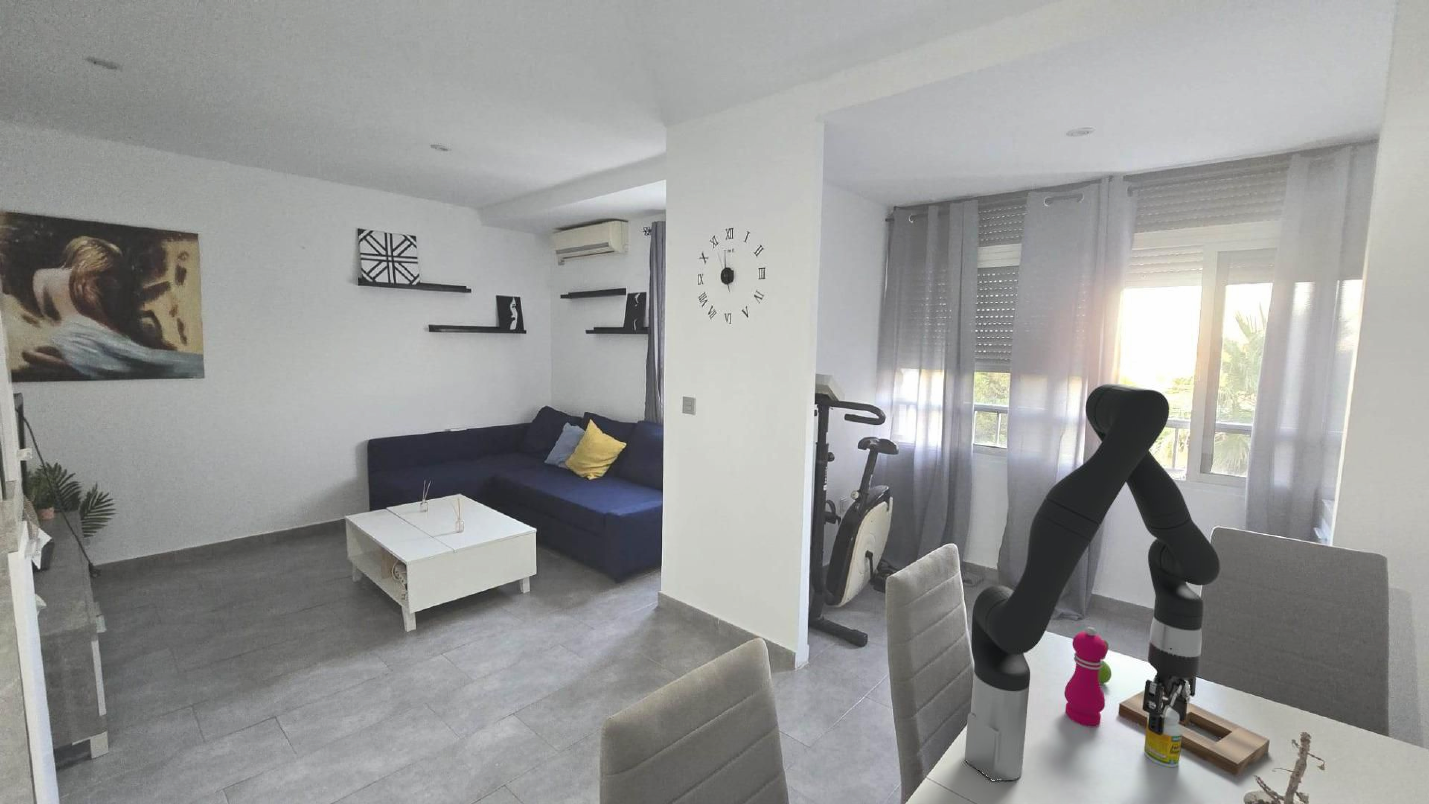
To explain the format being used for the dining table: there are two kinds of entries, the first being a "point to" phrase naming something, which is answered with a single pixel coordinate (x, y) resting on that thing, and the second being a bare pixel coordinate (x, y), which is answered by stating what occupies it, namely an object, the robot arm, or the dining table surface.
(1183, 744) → the collar plate
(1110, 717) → the dining table surface
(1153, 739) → the supplement bottle
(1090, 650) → the pepper mill
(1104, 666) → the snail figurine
